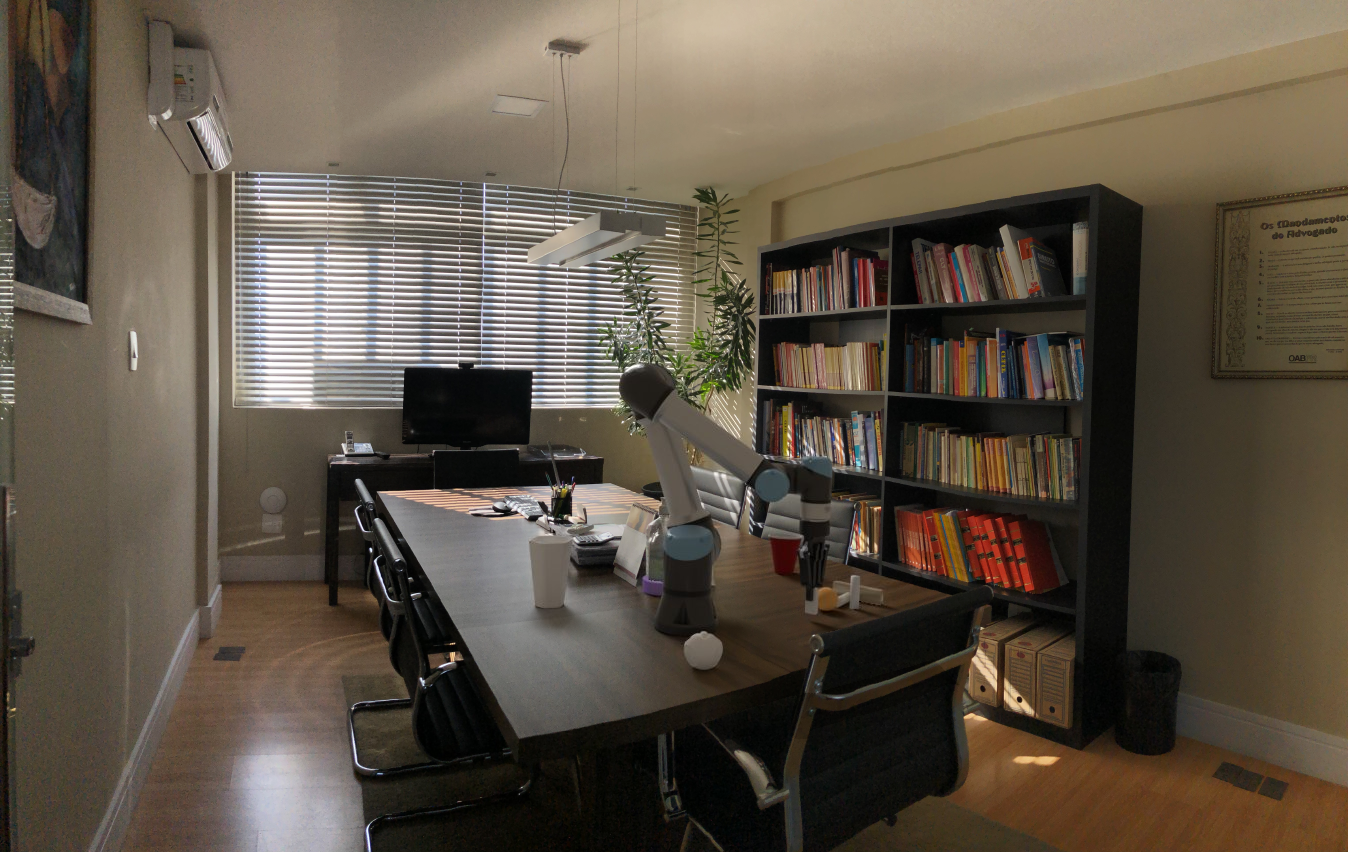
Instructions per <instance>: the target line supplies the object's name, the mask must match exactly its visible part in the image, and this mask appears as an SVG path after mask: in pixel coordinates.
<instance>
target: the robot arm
mask: <svg viewBox="0 0 1348 852" xmlns="http://www.w3.org/2000/svg"><path fill="white" fill-rule="evenodd" d="M618 391H619V395H620V397H621V400H622V401H623V403H624V404H626V406H628V407H630V408H631V410H632V411H633V415H634V419H635V422H636V423H637V424H639V425H641V426H642V427H643V428H644V432H645V435H646V439H647V441H648V442H647V443H648V445H649V449H650V452H651V456H652V459H653V463H654V466H655V469H656V472H657V476H658V480H659V483H660V487H661V490H662V494H663V498H664V501H665V503H666V508H667V512H668V514H669V519H668V521H667V523H666V529H667V531H666V532H665V533H664V538H663V542H662V546H663V547H662V548H663V559H662V560H663V564H662V565H663V566H662V573H663V593H662V596H661V597H660V600H659V603H658V606H657V610H656V613H655V615H654V620H653V621H654V623H653V624H654V625H653V626H654V628H655V629H656V630H657V631H659V632H661V633H664V634H668V635H673V636H681V637H691V636H693V635H694V634H697V633H699V634H700V633H701V632H702V631H705V632H707V633H708V634H713V633H714V632H716V631H717V630H718V628H719V627H718V622H719V621H718V619H719V618H718V615H717V612H716V609H715V605H714V601H713V598H712V587H713V586H712V581H713V577H712V576H713V565H714V563H715V562H717V560H718V558H719V555H720V554H721V550H722V538H721V535H720V533H719V531H718V530H717V529H716V527H715V526H714V522H713V519H712V515H711V513H710V511H709V510H707V509H705V508H704V507H703V505H702V501H701V498H700V495H699V491H698V488H697V485H696V482H695V478H694V474H693V470H692V467H691V464H690V460H689V457H688V453H687V450H686V447H685V446H686V445H685V444H684V441H686V442H687V443H689V444H690V445H691V446H693V447H694V448H695V449H697V450H698V451H699V452H701V453H703V454H704V455H705V456H706V457H707V458H709V459H711V460H712V461H714V463H716V464H718V466H720V467H722V468H723V469H725V470H726V471H727V472H729V473H730V474H732V475H733V476H734V477H735V478H737V479H738V480H740V481H741V482H743V483H744V484H745V485H747V486H748V487H749V488H750V489H752V490H753V491H754V492H756V494H757V496H758V497H759V498H760V499H761V500H763V501H765V502H766V503H776V502H780V501H782V499H784V498H786V496H788V495H800V499H799V501H800V503H799V517H800V519H799V521H798V522H799V523H798V526H799V527H798V533H799V534H800V536H803V541H802V547H801V549H800V548H799V549H798V550H797V559H798V565H799V567H798V568H799V579H800V586H801V587H802V588H805V603H804V613H805V614H809V615H814V616H815V615H817V614H818V609H819V607H818V590H819V589H820V588H824V584H822V583H824V580H825V575H826V568H827V561H828V556H829V555H828V554H829V550H830V548H831V544H829V543H826V537H829V536H830V535H831V534H830V533H831V521H830V520H829V519H831V511H833V510H832V506H831V505H832V488H833V487H832V485H833V461H832V460H831V459H830V458H829V457H826V456H822V455H821V456H819V455H816V456H815V455H814V456H813V455H805V456H803V457H802V458H801V462H800V463H780V462H771V461H770V460H767V459H766V458H764V457H763V456H762V455H761V454H759V453H758V452H756V450H754V449H752V448H751V447H750V446H748V445H747V444H745V443H744V442H743V441H741V440H740V439H738V438H737V437H736V436H734V435H733V434H731V433H730V432H729V431H727V430H726V429H725V428H723V427H722V426H721V425H719V424H717V423H716V422H714V421H713V420H712V419H711V418H709V417H708V416H706V415H705V414H704V413H702V412H701V411H699V410H698V409H697V408H695V407H694V406H693V405H691V403H690V404H689V402H687V401H686V400H684V399H683V398H682V397H680V396H679V392H678V389H677V384H676V379H675V378H674V376H673V374H672V373H671V372H670V371H669V370H668V369H667V368H665V366H662V365H660V364H657V363H656V364H655V363H646V362H640V363H639V362H638V363H635V364H632V365H630V366H629V367H627V368H626V369H625V370H624V371H623V373H622V374H621V376H620V379H619V382H618Z"/></svg>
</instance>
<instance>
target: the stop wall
mask: <svg viewBox="0 0 1348 852" xmlns="http://www.w3.org/2000/svg"><path fill="white" fill-rule="evenodd" d="M850 586H851V582H845V581H841V580H834V581H833V582H832V589H833V590H834V591H835V592H836V593H837V596H838V597H839V596H841V595H843V594H845V593H847V592H849V593H850ZM859 601H861V602H860V603H864V602H865V604H868V603H870V605H873V604H875V605H874V606H878V605H880V606H882V605H883V604H884V589H880V588H876V587H871V586H866V585H862V584H860V594H859ZM881 604H882V605H881Z"/></svg>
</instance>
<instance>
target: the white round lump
mask: <svg viewBox="0 0 1348 852" xmlns="http://www.w3.org/2000/svg"><path fill="white" fill-rule="evenodd" d="M723 650H724V647H723V643H722V641H721V640H720V639H719V638H717V637H716V636H715V635H714V634H713V633H709V634H708V633H707V632H705V631H702V632H701V633H700V634H699V633H697V634H694V635H693V636H690V638H689V639H687V640H686V641H684V645H683V655H684V656H685V657H684V658H685V659H686V661H687V663H688V664H689V665H690V666H691V667H693V668H695V669H698V670H701V671H702V670H703V671H706V670H710V669H713V668H714V667H716V666H717V665H718V664H719V662H720V661H721V660H720V659H722V658H721V657H722V655H723Z"/></svg>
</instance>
